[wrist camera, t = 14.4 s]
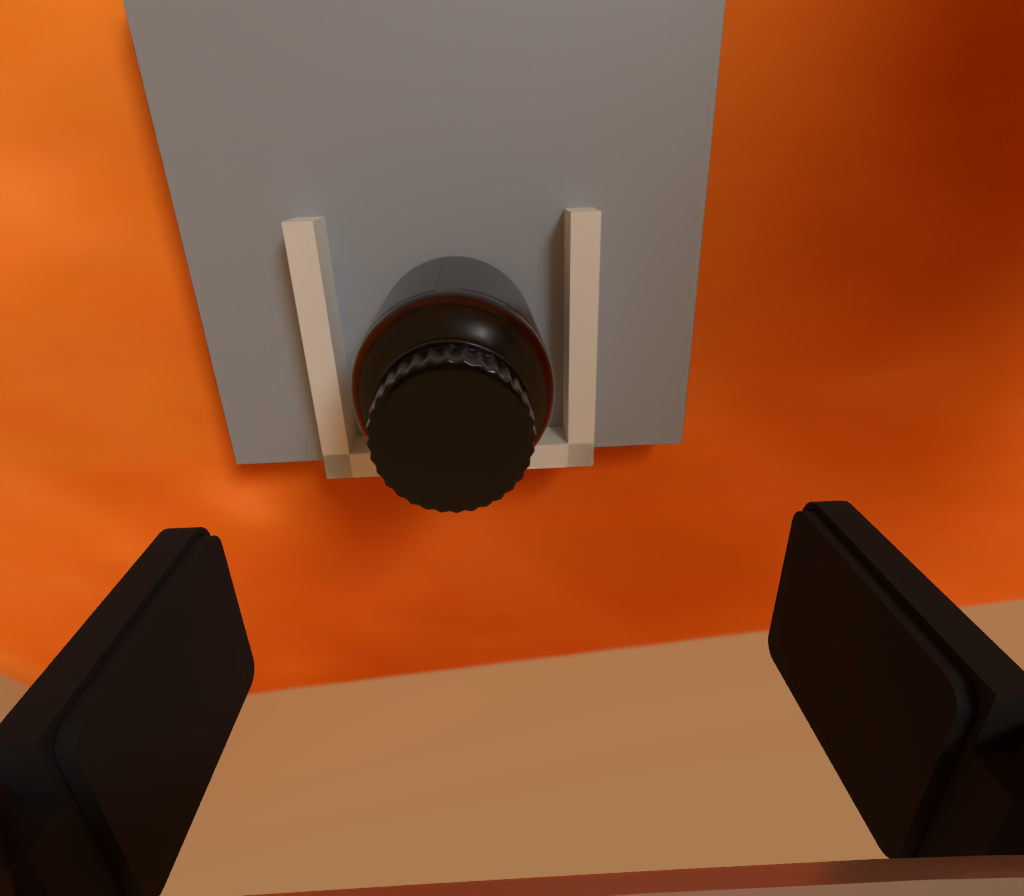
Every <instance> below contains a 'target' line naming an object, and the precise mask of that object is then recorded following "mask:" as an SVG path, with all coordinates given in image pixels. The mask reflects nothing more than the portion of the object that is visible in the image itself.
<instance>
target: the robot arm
mask: <svg viewBox="0 0 1024 896" xmlns="http://www.w3.org/2000/svg"><path fill="white" fill-rule="evenodd" d="M768 644H769V650H770V654H771V657H772V659H773V661H774V663H775V664H776V666H777V668H778V670H779V672H780V673H781V675H782V677H783V678H784V680H785V682H786V684H787V686H788V687H789V689H790V691H791V693H792V694H793V696H794V698H795V700H796V702H797V703H798V705H799V707H800V709H801V710H802V712H803V713H804V716H805V717H806V719H807V721H808V723H809V724H810V726H811V728H812V730H813V731H814V733H815V735H816V737H817V739H818V740H819V742H820V744H821V746H822V747H823V749H824V751H825V753H826V754H827V756H828V758H829V760H830V761H831V763H832V765H833V767H834V769H835V770H836V772H837V774H838V776H839V777H840V779H841V781H842V783H843V784H844V786H845V788H846V790H847V791H848V793H849V795H850V797H851V798H852V800H853V802H854V804H855V806H856V807H857V809H858V811H859V812H860V814H861V816H862V818H863V820H864V821H865V823H866V825H867V827H868V828H869V830H870V832H871V834H872V836H873V837H874V839H875V840H876V843H877V844H878V846H879V848H880V849H881V850H882V852H883V853H884V854H885V855H886V856H887V857H888V858H890V859H871V860H851V861H832V862H831V861H830V862H811V863H792V864H776V865H775V864H773V865H754V866H735V867H716V868H698V869H697V868H696V869H678V870H659V871H642V872H624V873H608V874H590V875H573V876H555V877H538V878H520V879H504V880H487V881H469V882H452V883H435V884H419V885H403V886H387V887H373V888H356V889H340V890H324V891H309V892H293V893H279V894H278V893H277V894H262V895H246V896H1024V671H1023V670H1022V669H1021V668H1020V667H1019V666H1018V665H1017V664H1016V663H1015V662H1014V661H1013V660H1012V659H1011V658H1010V657H1009V656H1008V655H1007V654H1006V653H1004V652H1003V651H1002V650H1001V649H1000V648H999V647H998V646H997V645H996V644H995V643H994V642H993V641H992V640H991V639H990V638H989V637H988V636H987V635H986V634H985V633H984V632H983V631H982V630H981V629H980V628H979V627H977V625H975V624H974V623H973V622H972V621H971V620H970V619H969V618H968V617H967V616H966V615H965V614H964V613H963V612H962V611H961V610H960V609H959V608H958V607H957V606H956V605H955V604H954V603H953V602H952V601H951V600H950V599H949V598H948V597H947V596H945V595H944V594H943V593H942V592H941V591H940V590H939V589H938V588H937V587H936V586H935V585H934V584H933V583H932V582H931V581H930V580H929V579H928V578H927V577H926V576H925V575H924V574H923V573H922V572H921V571H920V570H919V569H918V568H917V567H915V566H914V565H913V564H912V563H911V562H910V561H909V560H908V559H907V558H906V557H905V556H904V555H903V554H902V553H901V552H900V551H899V550H898V549H897V548H896V547H895V546H894V545H893V544H892V543H891V542H890V541H889V540H888V539H886V538H885V537H884V536H883V535H882V534H881V533H880V532H879V531H878V530H877V529H876V528H875V527H874V526H873V525H872V524H871V523H870V522H869V521H868V520H867V519H866V518H865V517H864V516H863V515H862V514H861V513H860V512H859V511H858V510H856V509H855V508H854V507H853V506H852V505H851V504H850V503H848V502H847V501H824V502H809V503H808V504H806V505H805V507H804V508H803V511H798V512H796V513H795V515H794V517H793V520H792V525H791V529H790V534H789V539H788V544H787V549H786V553H785V558H784V563H783V568H782V573H781V578H780V582H779V587H778V592H777V597H776V602H775V607H774V611H773V616H772V621H771V626H770V631H769V637H768ZM253 677H254V660H253V656H252V652H251V649H250V645H249V641H248V638H247V634H246V630H245V627H244V623H243V619H242V616H241V612H240V608H239V605H238V601H237V597H236V594H235V590H234V586H233V583H232V579H231V575H230V572H229V568H228V564H227V561H226V557H225V553H224V550H223V546H222V543H221V540H220V539H219V537H217V536H210V533H209V532H208V531H207V529H205V528H203V527H194V528H169V529H164V530H163V531H162V532H161V533H160V534H159V535H158V536H157V537H156V538H155V540H154V541H153V542H152V543H151V544H150V545H149V547H148V548H147V549H146V550H145V551H144V553H143V554H142V555H141V556H140V557H139V559H138V560H137V561H136V562H135V563H134V565H133V566H132V567H131V568H130V569H129V570H128V572H127V573H126V574H125V575H124V576H123V578H122V579H121V580H120V581H119V582H118V584H117V585H116V586H115V587H114V588H113V590H112V591H111V592H110V593H109V594H108V595H107V597H106V598H105V599H104V600H103V601H102V603H101V604H100V605H99V606H98V607H97V609H96V610H95V611H94V612H93V613H92V615H91V616H90V617H89V618H88V619H87V621H86V622H85V623H84V624H83V625H82V626H81V628H80V629H79V630H78V631H77V632H76V634H75V635H74V636H73V637H72V638H71V640H70V641H69V642H68V643H67V644H66V646H65V647H64V648H63V649H62V650H61V651H60V653H59V654H58V655H57V656H56V657H55V659H54V660H53V661H52V662H51V663H50V665H49V666H48V667H47V668H46V669H45V671H44V672H43V673H42V674H41V675H40V676H39V678H38V679H37V680H36V681H35V682H34V684H33V685H32V686H31V687H30V688H29V690H28V691H27V692H26V693H25V694H24V696H23V697H22V698H21V699H20V700H19V701H18V703H17V704H16V705H15V706H14V707H13V709H12V710H11V711H10V712H9V713H8V715H7V716H6V717H5V718H4V719H3V721H2V722H1V723H0V896H159V895H160V894H161V892H162V890H163V888H164V886H165V883H166V881H167V879H168V877H169V874H170V872H171V870H172V867H173V865H174V863H175V861H176V858H177V856H178V854H179V851H180V849H181V847H182V844H183V842H184V840H185V837H186V835H187V833H188V830H189V828H190V826H191V824H192V821H193V819H194V817H195V814H196V812H197V810H198V807H199V805H200V802H201V800H202V798H203V796H204V793H205V791H206V789H207V786H208V784H209V782H210V780H211V777H212V775H213V772H214V770H215V768H216V766H217V763H218V761H219V759H220V756H221V754H222V752H223V749H224V747H225V745H226V742H227V740H228V738H229V735H230V733H231V731H232V728H233V726H234V724H235V722H236V719H237V717H238V715H239V712H240V710H241V708H242V705H243V703H244V701H245V698H246V696H247V694H248V691H249V689H250V687H251V684H252V681H253Z"/></svg>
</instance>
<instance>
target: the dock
mask: <svg viewBox="0 0 1024 896" xmlns="http://www.w3.org/2000/svg"><path fill="white" fill-rule="evenodd" d="M123 3H124V8H125V12H126V16H127V20H128V24H129V28H130V32H131V36H132V40H133V44H134V48H135V52H136V56H137V60H138V64H139V69H140V73H141V77H142V81H143V85H144V89H145V93H146V97H147V101H148V105H149V109H150V113H151V117H152V121H153V126H154V130H155V134H156V138H157V142H158V146H159V150H160V154H161V158H162V162H163V166H164V170H165V174H166V178H167V182H168V187H169V191H170V195H171V199H172V203H173V207H174V211H175V215H176V219H177V223H178V227H179V231H180V235H181V239H182V243H183V248H184V252H185V256H186V260H187V264H188V268H189V272H190V276H191V280H192V284H193V288H194V292H195V296H196V300H197V305H198V309H199V313H200V317H201V321H202V325H203V329H204V333H205V337H206V341H207V345H208V349H209V353H210V357H211V361H212V366H213V370H214V374H215V378H216V382H217V386H218V390H219V394H220V398H221V402H222V406H223V410H224V414H225V418H226V423H227V427H228V431H229V435H230V439H231V443H232V447H233V451H234V455H235V459H236V463H237V464H257V463H278V462H299V461H320V460H324V466H325V471H326V477H327V479H336V478H357V477H377V476H380V475H379V474H377V471H376V465H375V464H374V463H373V462H372V461H371V460H370V452H371V451H370V450H369V448H368V446H367V444H366V442H367V439H366V438H365V436H364V434H363V432H362V431H361V429H360V427H359V424H358V422H357V419H356V416H355V413H354V410H353V405H352V399H351V375H352V369H353V365H354V361H355V357H356V355H357V352H358V349H359V347H360V345H361V343H362V341H363V338H364V337H365V335H366V333H367V331H368V329H369V328H370V326H371V324H372V322H373V320H374V319H375V317H376V315H377V313H378V311H379V310H380V308H381V306H382V304H383V302H384V301H385V299H386V297H387V296H388V294H389V292H390V291H391V290H392V288H393V287H394V286H395V284H396V283H397V282H398V281H399V280H400V279H401V278H402V277H403V276H404V275H405V274H406V273H407V272H409V271H410V270H412V269H413V268H415V267H416V266H418V265H420V264H422V263H424V262H427V261H429V260H432V259H436V258H440V257H447V256H462V257H469V258H474V259H477V260H480V261H483V262H485V263H488V264H490V265H492V266H493V267H495V268H497V269H498V270H500V271H501V272H502V273H504V274H505V275H506V276H507V277H508V278H509V279H510V280H511V281H512V282H513V283H514V284H515V285H516V286H517V288H518V289H519V290H520V292H521V294H522V295H523V297H524V299H525V300H526V302H527V305H528V307H529V309H530V311H531V313H532V316H533V318H534V321H535V323H536V325H537V328H538V330H539V332H540V335H541V337H542V340H543V342H544V344H545V347H546V349H547V352H548V355H549V357H550V361H551V365H552V369H553V374H554V381H555V397H554V405H553V410H552V414H551V418H550V420H549V423H548V426H547V428H546V430H545V432H544V434H543V436H542V437H541V439H540V441H539V442H538V444H537V445H536V446H535V451H534V453H533V455H532V456H531V457H530V466H529V467H528V468H527V469H540V468H561V467H581V466H593V464H594V447H612V446H633V445H654V444H674V443H682V437H683V427H684V417H685V406H686V396H687V386H688V376H689V366H690V356H691V345H692V335H693V325H694V315H695V305H696V295H697V284H698V274H699V264H700V254H701V244H702V234H703V223H704V213H705V203H706V193H707V183H708V173H709V162H710V152H711V142H712V132H713V122H714V112H715V101H716V91H717V81H718V71H719V61H720V51H721V40H722V30H723V20H724V10H725V0H123Z"/></svg>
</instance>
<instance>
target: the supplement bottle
mask: <svg viewBox="0 0 1024 896" xmlns="http://www.w3.org/2000/svg"><path fill="white" fill-rule="evenodd" d="M554 397H555V381H554V374H553V369H552V365H551V361H550V357H549V355H548V352H547V349H546V347H545V344H544V342H543V340H542V337H541V335H540V332H539V330H538V328H537V325H536V323H535V321H534V318H533V316H532V313H531V311H530V309H529V307H528V305H527V302H526V300H525V299H524V297H523V295H522V294H521V292H520V290H519V289H518V288H517V286H516V285H515V284H514V283H513V282H512V281H511V280H510V279H509V278H508V277H507V276H506V275H505V274H504V273H502V272H501V271H500V270H498V269H497V268H495V267H493V266H492V265H490V264H488V263H485V262H483V261H480V260H477V259H474V258H469V257H462V256H447V257H440V258H436V259H432V260H429V261H427V262H424V263H422V264H420V265H418V266H416V267H415V268H413V269H412V270H410V271H409V272H407V273H406V274H405V275H404V276H403V277H402V278H401V279H400V280H399V281H398V282H397V283H396V284H395V286H394V287H393V288H392V290H391V291H390V292H389V294H388V296H387V297H386V299H385V301H384V302H383V304H382V306H381V308H380V310H379V311H378V313H377V315H376V317H375V319H374V320H373V322H372V324H371V326H370V328H369V329H368V331H367V333H366V335H365V337H364V338H363V341H362V343H361V345H360V347H359V349H358V352H357V355H356V357H355V361H354V365H353V369H352V375H351V399H352V405H353V410H354V413H355V416H356V419H357V422H358V424H359V427H360V429H361V431H362V432H363V434H364V436H365V438H366V439H367V442H366V444H367V446H368V448H369V450H370V451H371V452H370V460H371V461H372V462H373V463H374V464H375V465H376V471H377V474H379V475H380V476H381V477H382V478H384V481H385V484H386V485H387V486H388V487H390V488H392V489H394V491H395V492H396V494H397V495H398V496H400V497H403V498H406V499H407V500H408V501H409V502H410V503H411V504H416V505H420V506H421V507H423V508H425V509H435V510H437V511H439V512H447V511H452V512H455V513H458V512H461V511H464V510H467V511H473V510H475V509H477V508H478V507H486V506H488V505H489V504H491V502H493V501H496V500H499V499H501V498H502V497H503V495H504V494H505V493H506V492H509V491H511V490H513V488H514V486H515V484H516V483H517V482H518V481H520V480H521V479H522V478H523V475H524V471H525V470H526V469H527V468H528V467H529V466H530V457H531V456H532V455H533V453H534V451H535V446H536V445H537V444H538V442H539V441H540V439H541V437H542V436H543V434H544V432H545V430H546V428H547V426H548V423H549V420H550V418H551V414H552V410H553V405H554Z"/></svg>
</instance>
